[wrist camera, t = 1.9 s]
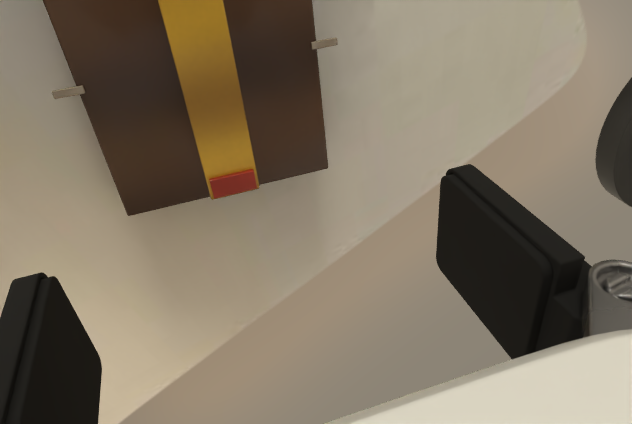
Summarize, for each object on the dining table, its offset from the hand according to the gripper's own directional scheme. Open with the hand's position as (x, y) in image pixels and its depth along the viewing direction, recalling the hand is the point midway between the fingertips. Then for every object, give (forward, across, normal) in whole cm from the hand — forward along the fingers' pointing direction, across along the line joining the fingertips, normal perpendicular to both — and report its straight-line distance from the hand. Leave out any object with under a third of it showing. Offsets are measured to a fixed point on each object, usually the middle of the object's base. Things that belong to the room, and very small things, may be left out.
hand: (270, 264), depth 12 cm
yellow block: (+16, 0, 0) cm, 16 cm away
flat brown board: (+19, 0, 0) cm, 19 cm away
